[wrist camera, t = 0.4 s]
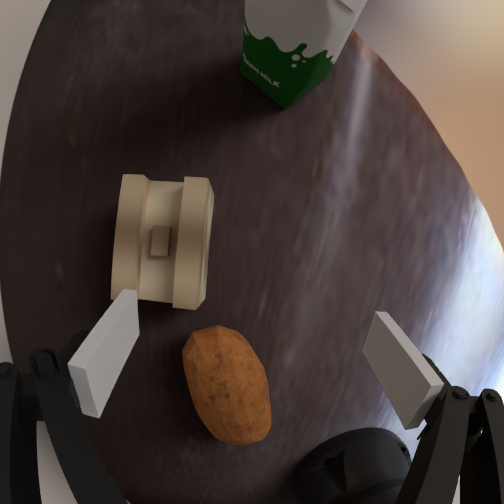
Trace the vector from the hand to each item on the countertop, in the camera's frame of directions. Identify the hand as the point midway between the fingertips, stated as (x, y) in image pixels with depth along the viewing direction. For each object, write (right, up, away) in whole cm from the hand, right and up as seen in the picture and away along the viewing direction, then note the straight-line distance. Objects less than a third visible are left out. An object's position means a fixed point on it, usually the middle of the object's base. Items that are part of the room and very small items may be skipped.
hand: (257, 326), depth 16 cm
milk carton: (+3, +24, +14) cm, 28 cm away
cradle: (-8, +5, +13) cm, 16 cm away
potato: (-2, -9, +13) cm, 16 cm away
